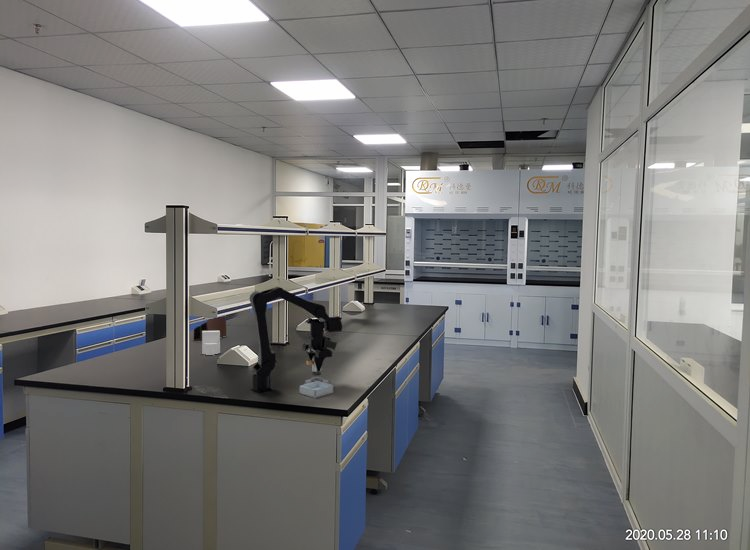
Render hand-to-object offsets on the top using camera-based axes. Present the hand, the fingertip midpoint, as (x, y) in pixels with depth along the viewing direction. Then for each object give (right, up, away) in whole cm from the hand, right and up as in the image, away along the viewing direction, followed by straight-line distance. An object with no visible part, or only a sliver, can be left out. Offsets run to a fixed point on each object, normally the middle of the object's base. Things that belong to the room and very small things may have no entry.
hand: (316, 370), depth 222 cm
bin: (+1, -7, -13) cm, 14 cm away
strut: (-1, -2, -1) cm, 2 cm away
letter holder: (-75, +1, +96) cm, 121 cm away
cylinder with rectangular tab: (-62, -2, +56) cm, 83 cm away
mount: (0, -6, 0) cm, 6 cm away
